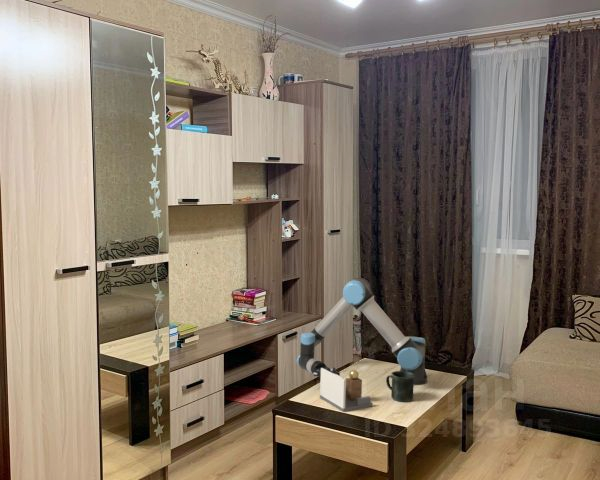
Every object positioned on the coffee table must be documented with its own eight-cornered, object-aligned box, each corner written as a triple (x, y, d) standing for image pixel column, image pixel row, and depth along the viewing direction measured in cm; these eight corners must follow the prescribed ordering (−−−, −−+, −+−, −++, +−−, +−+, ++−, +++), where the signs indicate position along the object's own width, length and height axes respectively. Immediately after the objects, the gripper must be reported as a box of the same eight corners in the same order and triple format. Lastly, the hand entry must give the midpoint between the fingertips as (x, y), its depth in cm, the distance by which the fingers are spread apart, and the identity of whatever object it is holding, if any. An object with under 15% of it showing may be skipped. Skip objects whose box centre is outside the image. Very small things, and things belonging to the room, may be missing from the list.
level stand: (320, 398, 292) (320, 368, 291) (348, 393, 300) (348, 364, 299) (343, 411, 275) (344, 380, 273) (372, 406, 282) (373, 375, 281)
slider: (344, 397, 289) (345, 369, 288) (355, 395, 292) (356, 367, 290) (350, 400, 284) (351, 372, 283) (361, 398, 287) (362, 370, 286)
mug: (406, 404, 286) (407, 379, 285) (380, 397, 295) (380, 372, 294) (418, 398, 294) (419, 374, 293) (392, 391, 304) (393, 368, 303)
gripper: (327, 373, 320) (352, 386, 300) (305, 376, 313) (330, 390, 293) (327, 359, 319) (353, 371, 299) (305, 362, 313) (331, 374, 292)
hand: (342, 380), depth 296 cm, fingers closed
